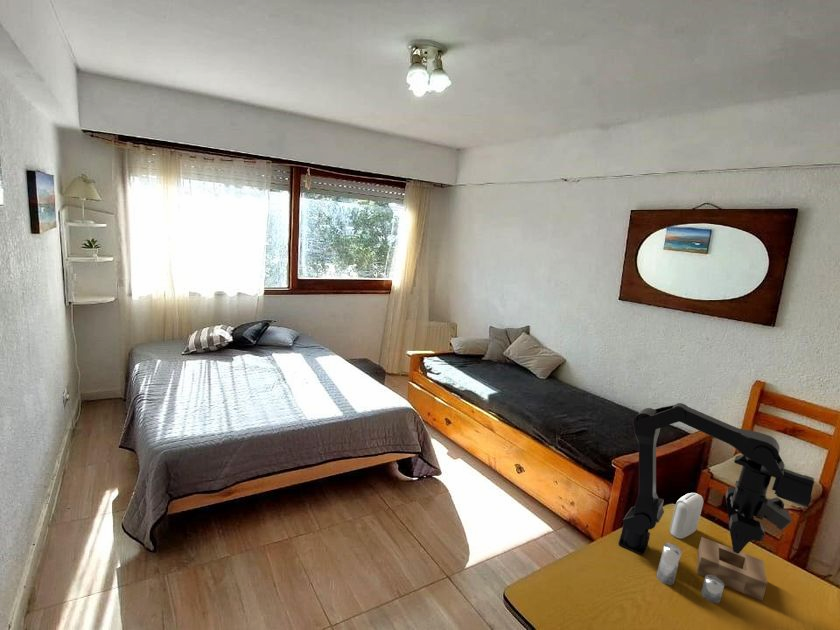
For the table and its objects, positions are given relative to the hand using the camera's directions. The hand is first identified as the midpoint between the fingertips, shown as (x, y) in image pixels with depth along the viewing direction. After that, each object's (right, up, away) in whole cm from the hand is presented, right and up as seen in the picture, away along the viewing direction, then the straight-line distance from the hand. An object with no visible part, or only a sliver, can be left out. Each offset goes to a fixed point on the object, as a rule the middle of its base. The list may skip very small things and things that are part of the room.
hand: (734, 541), depth 111 cm
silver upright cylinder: (-15, -11, +4) cm, 19 cm away
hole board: (+4, -13, +8) cm, 15 cm away
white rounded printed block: (+1, -9, +24) cm, 26 cm away
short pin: (-6, -13, 0) cm, 15 cm away
